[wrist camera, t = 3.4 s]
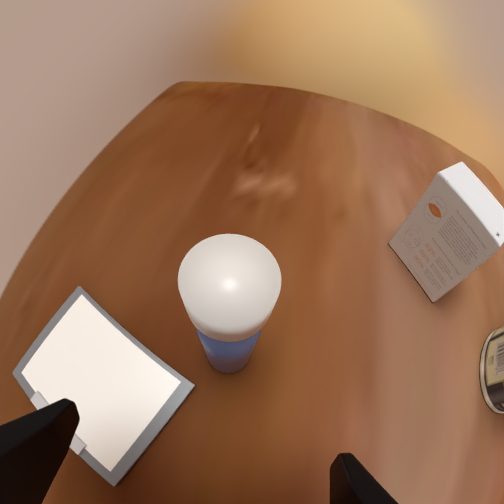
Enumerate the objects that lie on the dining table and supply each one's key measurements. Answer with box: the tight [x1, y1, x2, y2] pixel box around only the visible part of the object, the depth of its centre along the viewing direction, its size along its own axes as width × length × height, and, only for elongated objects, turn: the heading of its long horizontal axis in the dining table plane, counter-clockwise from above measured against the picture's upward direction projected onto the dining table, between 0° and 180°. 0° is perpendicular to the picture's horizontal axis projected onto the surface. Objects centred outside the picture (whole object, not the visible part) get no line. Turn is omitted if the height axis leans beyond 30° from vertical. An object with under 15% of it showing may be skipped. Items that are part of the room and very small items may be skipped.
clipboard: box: [12, 286, 195, 487], centre depth 17 cm, size 11×13×1 cm
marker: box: [178, 234, 281, 374], centre depth 15 cm, size 3×3×13 cm
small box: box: [389, 162, 504, 302], centre depth 22 cm, size 8×6×10 cm
